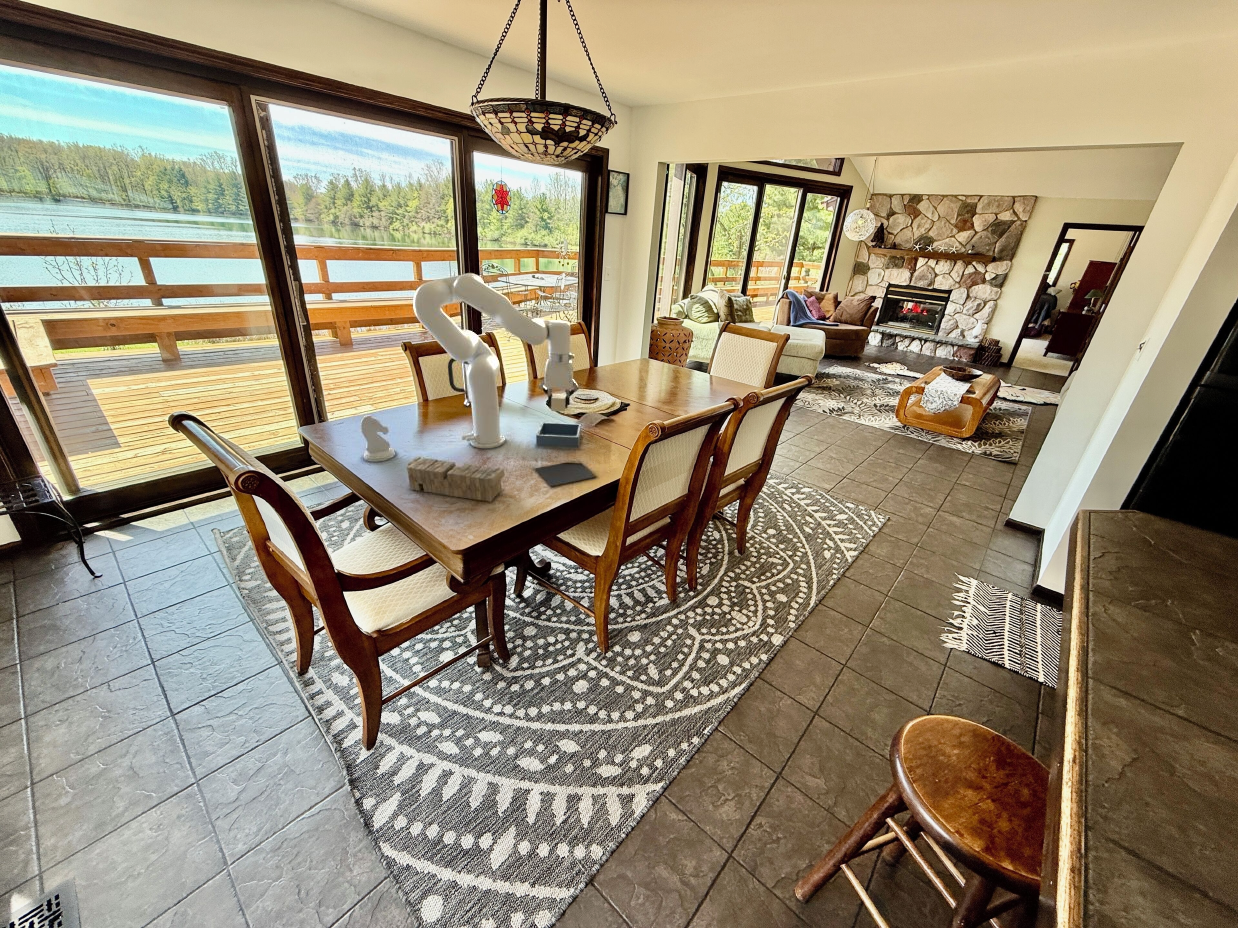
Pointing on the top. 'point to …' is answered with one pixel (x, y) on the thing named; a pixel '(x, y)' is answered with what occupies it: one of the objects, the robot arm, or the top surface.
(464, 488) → the block tower
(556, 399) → the block
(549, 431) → the bin
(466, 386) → the coffee press
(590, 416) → the grey curved sheet
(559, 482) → the mat
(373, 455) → the chess piece
